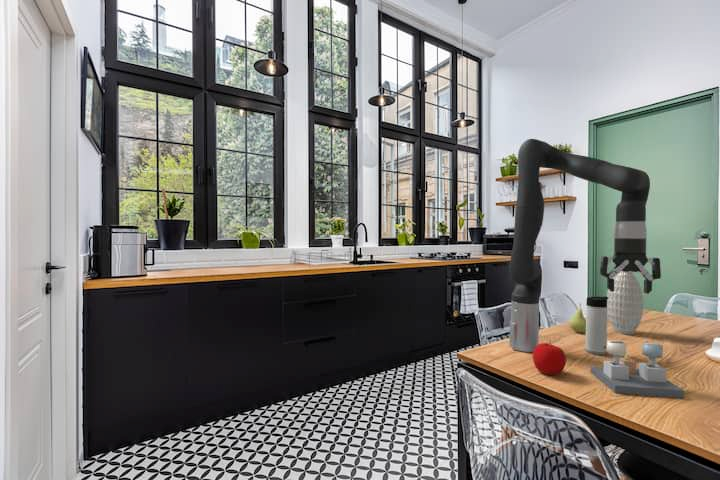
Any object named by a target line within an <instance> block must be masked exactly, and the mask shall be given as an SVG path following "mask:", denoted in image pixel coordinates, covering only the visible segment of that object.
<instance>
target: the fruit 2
mask: <svg viewBox="0 0 720 480" xmlns="http://www.w3.org/2000/svg"><path fill="white" fill-rule="evenodd" d="M569 327H570V328H571V330H573V331H574V332H575V333H577V334H583V333H586V317H585V316H584V313H583V309H582V304H581V303H579V308H578V309H577V310H576V312H575V314H574V315H573V316H572V317H571V319H570V320H569Z"/></svg>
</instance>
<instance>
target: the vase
mask: <svg viewBox="0 0 720 480" xmlns="http://www.w3.org/2000/svg"><path fill="white" fill-rule="evenodd" d="M613 279H614V292H611V291H610V290H609V289H608V288H607V291H606V297H608V299H607V318H608V321H609V322H610V325H611V326H612V328H613V331H614V332H615V333H618V334H621V335H633V334H634V333H635V332H636V331H637V330H638V327H639V326H640V324H641V321H642V319H643V315H644V303H645V302H644V294H643V293H644V291H643V290H642V286H641V284H640V281H639V280H638V279H637V277H636V276H635V274H634V272H632V271H629V272H624V271H620V272H619V273H618V274H617V275H616V276H615V277H614V278H613Z"/></svg>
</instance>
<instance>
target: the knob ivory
mask: <svg viewBox="0 0 720 480" xmlns="http://www.w3.org/2000/svg"><path fill="white" fill-rule="evenodd" d="M606 350H607V354H609V355H612V356H613V357H612V358H613V359H612V361H613V365H619V358H620V357H625V356H626V355H627V343H626V342H623V341H619V340H609V339H608V340H607V349H606Z"/></svg>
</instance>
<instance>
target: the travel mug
mask: <svg viewBox="0 0 720 480" xmlns="http://www.w3.org/2000/svg"><path fill="white" fill-rule="evenodd" d="M607 299H608V297H607V295H606V296H605V295H604V296H589V297H586V301H585V302H586V305H585V306H586V307H585V320H586V331H585V352H586V353H587V354H590V355H595V356H606V355H607V354H608V353H607V341H608V338H607V337H608V314H607Z"/></svg>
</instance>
